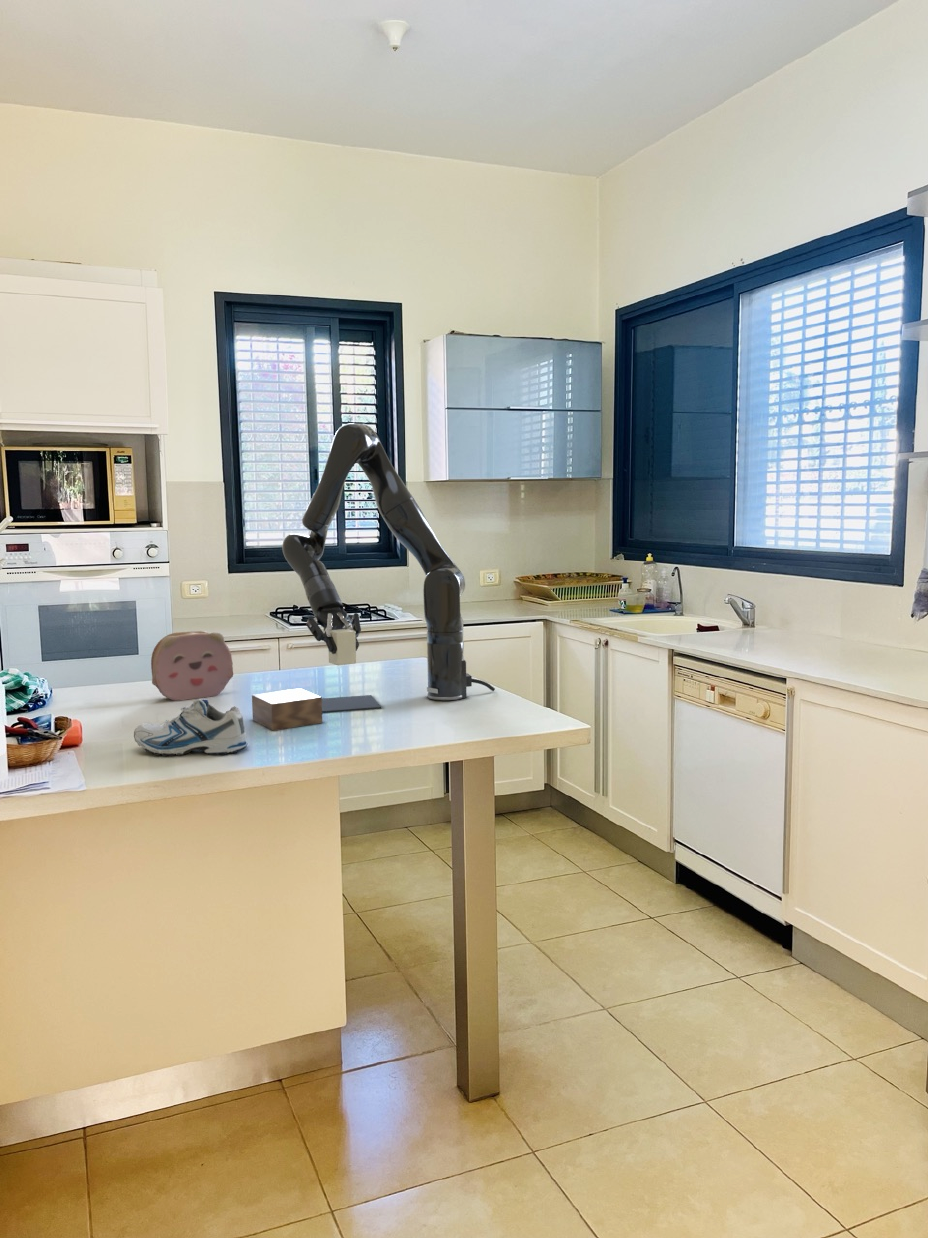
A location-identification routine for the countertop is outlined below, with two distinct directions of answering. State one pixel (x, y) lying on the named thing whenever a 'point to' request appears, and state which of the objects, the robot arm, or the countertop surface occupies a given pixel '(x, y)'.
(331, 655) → the cream box
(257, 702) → the brown box
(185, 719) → the athletic shoe
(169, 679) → the face sculpture
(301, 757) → the countertop surface
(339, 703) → the rubber mat
